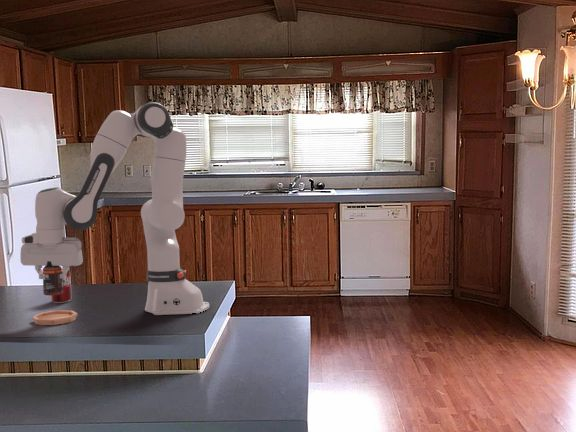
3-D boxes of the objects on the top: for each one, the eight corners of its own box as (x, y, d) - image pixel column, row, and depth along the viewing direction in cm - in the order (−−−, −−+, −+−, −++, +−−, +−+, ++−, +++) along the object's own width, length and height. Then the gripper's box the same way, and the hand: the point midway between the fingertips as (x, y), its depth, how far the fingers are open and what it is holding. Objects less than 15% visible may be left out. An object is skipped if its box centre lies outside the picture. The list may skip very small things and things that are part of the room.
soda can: (75, 299, 234) (73, 268, 233) (66, 303, 227) (64, 271, 226) (57, 299, 235) (55, 268, 234) (47, 303, 228) (46, 271, 226)
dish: (82, 315, 208) (82, 310, 208) (64, 325, 195) (64, 320, 195) (46, 315, 209) (46, 310, 209) (26, 325, 196) (25, 319, 196)
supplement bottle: (63, 292, 205) (62, 258, 204) (61, 295, 199) (61, 261, 198) (44, 293, 203) (43, 259, 202) (42, 296, 197) (41, 261, 197)
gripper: (85, 236, 202) (87, 277, 203) (27, 236, 204) (29, 276, 205) (76, 238, 195) (78, 281, 196) (16, 238, 198) (18, 280, 199)
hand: (52, 278), depth 201 cm, fingers closed on supplement bottle, 6 cm apart
